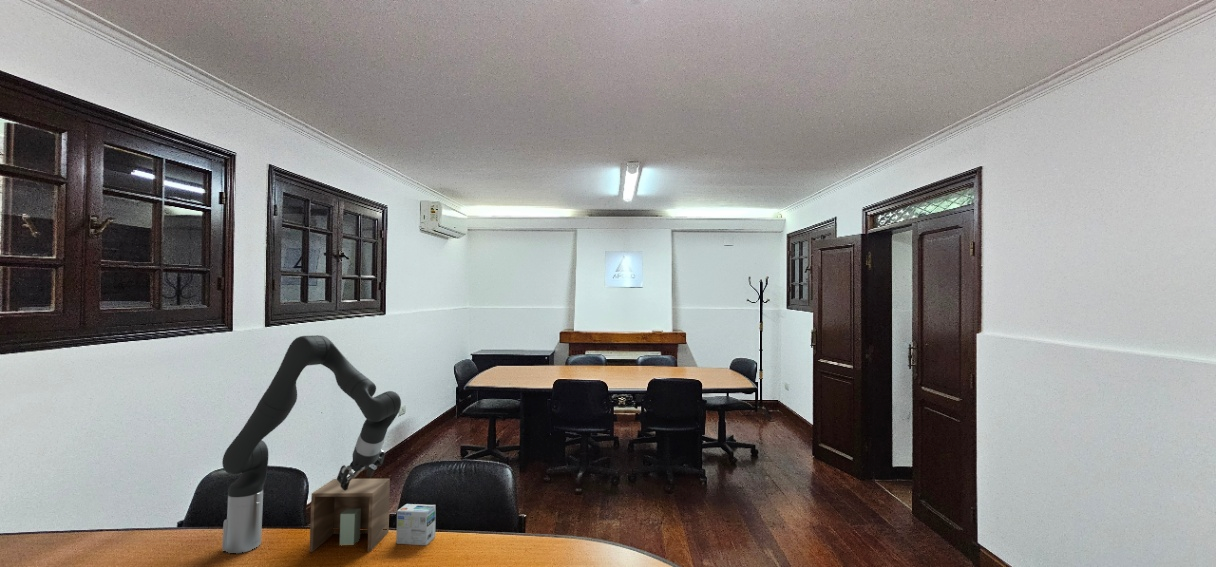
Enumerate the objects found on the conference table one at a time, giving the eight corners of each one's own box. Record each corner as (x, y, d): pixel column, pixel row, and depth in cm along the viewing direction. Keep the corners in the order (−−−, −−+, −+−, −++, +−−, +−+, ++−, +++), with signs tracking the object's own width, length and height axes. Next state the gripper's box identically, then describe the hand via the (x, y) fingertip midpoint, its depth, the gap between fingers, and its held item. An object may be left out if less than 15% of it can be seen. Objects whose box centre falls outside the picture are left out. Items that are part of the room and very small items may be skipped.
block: (339, 545, 164) (340, 513, 165) (346, 539, 169) (347, 508, 169) (353, 545, 164) (354, 513, 165) (359, 539, 169) (360, 508, 169)
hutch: (309, 551, 160) (311, 493, 161) (331, 532, 174) (333, 478, 175) (370, 551, 160) (372, 493, 161) (388, 532, 174) (389, 478, 175)
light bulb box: (435, 537, 171) (436, 504, 172) (426, 546, 164) (427, 512, 165) (405, 535, 172) (406, 502, 173) (395, 544, 166) (396, 510, 166)
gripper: (382, 429, 164) (369, 464, 170) (340, 447, 152) (328, 484, 158) (396, 444, 162) (383, 479, 168) (354, 464, 149) (342, 501, 155)
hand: (356, 481), depth 163 cm, fingers open, 8 cm apart
